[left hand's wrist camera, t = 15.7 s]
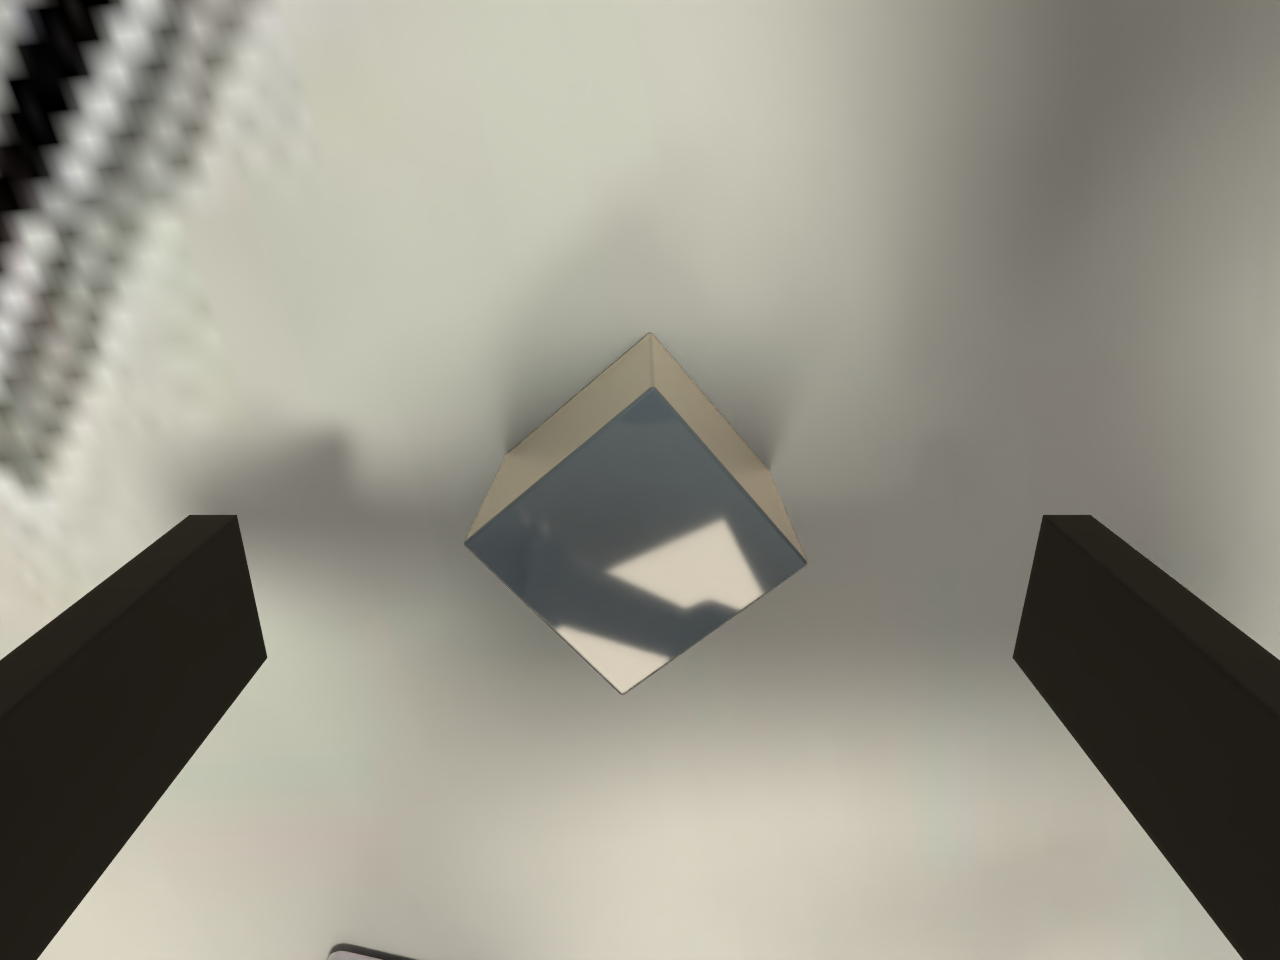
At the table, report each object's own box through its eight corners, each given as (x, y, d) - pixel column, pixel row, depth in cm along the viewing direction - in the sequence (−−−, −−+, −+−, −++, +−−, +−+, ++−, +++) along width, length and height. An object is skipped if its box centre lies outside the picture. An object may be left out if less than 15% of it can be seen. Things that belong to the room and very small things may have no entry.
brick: (650, 331, 17) (653, 385, 13) (770, 472, 18) (810, 565, 14) (503, 455, 18) (460, 544, 14) (626, 581, 19) (622, 698, 15)
